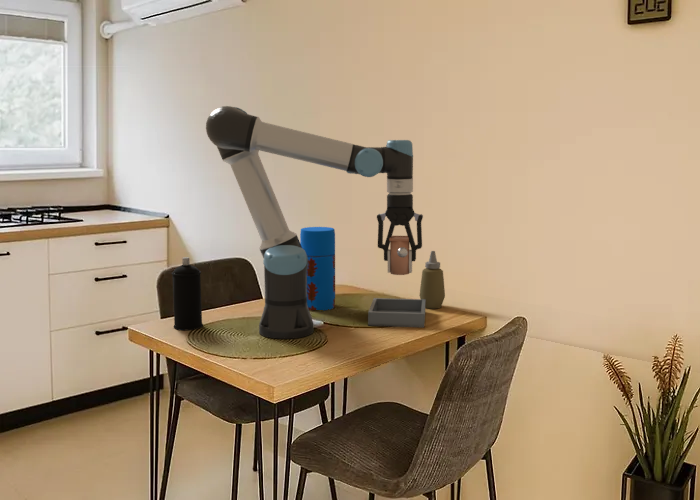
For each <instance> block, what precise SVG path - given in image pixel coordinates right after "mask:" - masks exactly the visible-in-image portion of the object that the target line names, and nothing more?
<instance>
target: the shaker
mask: <svg viewBox="0 0 700 500" xmlns="http://www.w3.org/2000/svg"><path fill="white" fill-rule="evenodd" d="M389 241H390V244H389V249H390V275H393V276H405V275H409V274H410V273H409V250H410V243H409V238H408V236H407V235H392V237H390V238H389ZM400 247H405V248H406V249H407V251H408V254H407V256H406V257H403V258H402V257H399V256H398V254H397V251H398V249H399V248H400Z"/></svg>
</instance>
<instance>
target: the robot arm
mask: <svg viewBox="0 0 700 500" xmlns="http://www.w3.org/2000/svg"><path fill="white" fill-rule="evenodd" d="M206 120H207V121H206V123H205V131H206V135H207V137H208V139H209V140H210V142H211V143H212V144H213V145H214V146H216V148H217V151H218V152H219V155H220V158H221V160H222V162H224V163H227V164H228V165H230V167H231V170H232V173H233V175H234V177H235V179H236V182H237V184H238V186H239V189H240V192H241V193H242V197H243V199H244V202H245V204H246V207H247V208H248V211H249V213H250V216H251V219H252V221H253V223H254V226H255V228H256V230H257V233H258V236H259V237H260V240H261V243H260V245H259V251H260V253H261V256H262V258H263V262H262V263H263V266H264V267H263V268H264V269H263V270H264V271H263V272H264V273H263V274H264V276H263V278H264V307H263V310H262V313H261V317H260V321H259V325H258V331H259V332H258V333H259V334H260V335H261V336H263V337H265V338H270V339H279V340H281V339H285V340H286V339H288V340H290V339H299V338H303V337H307V336H310V335H312V334H313V333H314V331H315V329H314V321H313V318H312V315H311V312H310V310H309V309H308V306H307V269H308V257H307V254H306V252H305V250H304V249H303V248H302V246H301V244H300V238H299V237H298V234H297V233H295V232H294V231H292V230H290V228H289V226H288V224H287V221H286V219H285V217H284V213H283V211H282V209H281V206H280V205H279V202H278V199H277V197H276V194H275V192H274V189H273V187H272V184H271V182H270V179H269V176H268V175H267V172H266V169H265V167H264V165H263V162H262V160H261V157H260V155H259V151H260V152H264V153H269V154H272V155H278V156H281V157H286V158H289V159H294V160H297V161H298V160H299V161H303V162H307V163H310V164H314V165H320V166H323V167H327V168H332V169H337V170H341V171H344V172H346V173H347V174H353V175H360V176H362V177H365V178H366V177H367V178H373V177H375V176H376V175H378V174H386V193H388V194H387V195H386V210H385V212H383V213H378V214H377V215H376V220H377V223H378V224H377V225H378V229H377V248H378V249H381V250H383V260H384V262H387V273H388V274H389V273H390V241H389V238H390V237H392V236H393V233H394V230H395V228H396V226H404V229H405V232H406V236H408V238H409V247H410V249H409V274H412V273H413V262H415V261H416V260H417V250H419V249H422V248H423V237H422V236H423V234H422V233H423V232H422V221H423V218H424V215H423V214H422V213H421V214H419V213H416V212H415V210H414V203H413V202H414V199H413V198H414V195H413V194H412V193H413V192H414V175H413V174H414V171H413V170H414V151H413V150H414V149H413V143H412V141H411V140H410V139H388V140H387V142H386V146H381V147H379V146H373V147H372V146H371V147H370V146H368V147H366V146H362V145H359V144H353V143H349V142H347V141H342V140H338V139H334V138H330V137H326V136H321V135H319V134H314V133H309V132H305V131H301V130H297V129H293V128H289V127H284V126H280V125H277V124H272V123H268V122H264V121H262V119H260V117H259V116H255V115H252V114H249V113H247V112H246V110H243V109H242V108H239V107H236V106H231V105H229V106H228V105H225V106H220V107H217V108H215V109H214V110H213V111H212V112H211V113H210V114H209V115H208V118H207V119H206ZM386 218H387V219H388V221H389V222H390V225H389V229H388V232H387V235H386V239H385V243H383V241H384V239H383V238H384V221H385V219H386ZM413 218H414V221H415V222H416V237H417V244H416V243H415V239H414V236H413V232H412V229H411V225H410V222H411V220H412V219H413ZM390 274H391V273H390Z"/></svg>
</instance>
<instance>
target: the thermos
mask: <svg viewBox="0 0 700 500" xmlns="http://www.w3.org/2000/svg"><path fill="white" fill-rule="evenodd" d="M299 236H300V238H299V242H300V244H301V246H302V248H303V249H304V250H305V252H306V254H307V257H308V269H307V306H308V309H309V311H313V310H323V311H329V310H332V309H334V308H335V306H336V305H335V304H336V232H335V228H333V227H329V226H328V227H327V226H309V227H308V226H307V227H302V228H301V229H300V235H299ZM328 309H329V310H328Z"/></svg>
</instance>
